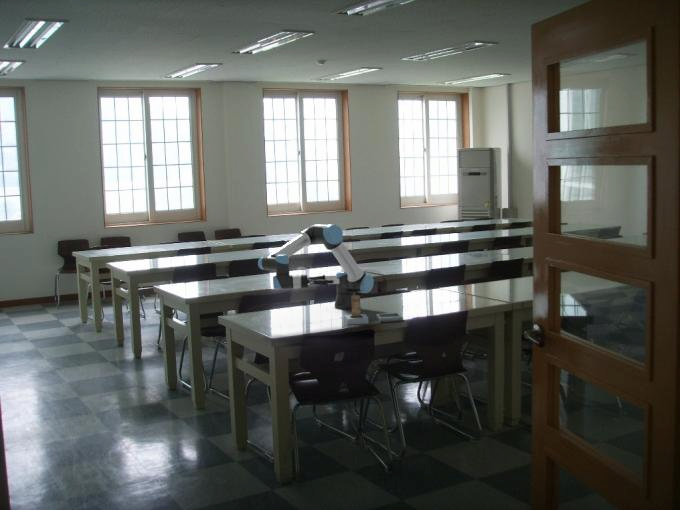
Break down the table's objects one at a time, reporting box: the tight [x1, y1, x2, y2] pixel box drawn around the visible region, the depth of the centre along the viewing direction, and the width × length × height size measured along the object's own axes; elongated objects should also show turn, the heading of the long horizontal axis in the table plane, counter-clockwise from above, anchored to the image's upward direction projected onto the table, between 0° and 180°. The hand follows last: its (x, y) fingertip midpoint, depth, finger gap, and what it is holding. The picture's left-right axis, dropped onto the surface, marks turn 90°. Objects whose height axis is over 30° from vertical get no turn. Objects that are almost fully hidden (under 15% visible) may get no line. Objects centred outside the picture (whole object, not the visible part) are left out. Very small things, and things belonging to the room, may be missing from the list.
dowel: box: [351, 294, 362, 318], centre depth 429 cm, size 5×5×15 cm
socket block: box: [344, 313, 370, 325], centre depth 429 cm, size 12×12×3 cm
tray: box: [375, 312, 404, 323], centre depth 431 cm, size 13×13×2 cm
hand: (337, 279), depth 425 cm, fingers open, 13 cm apart
